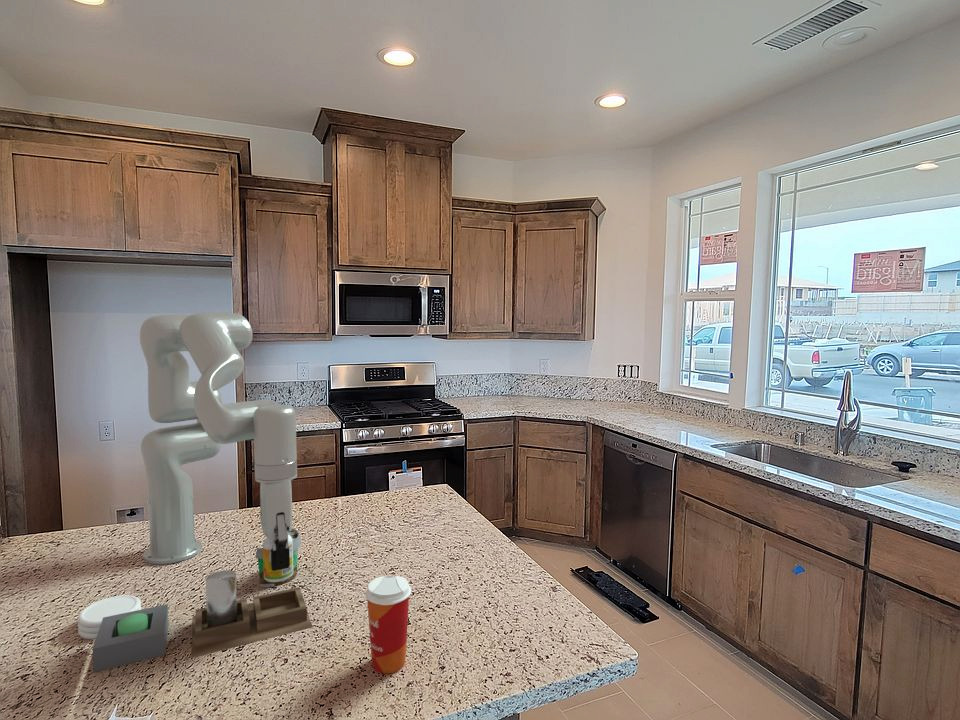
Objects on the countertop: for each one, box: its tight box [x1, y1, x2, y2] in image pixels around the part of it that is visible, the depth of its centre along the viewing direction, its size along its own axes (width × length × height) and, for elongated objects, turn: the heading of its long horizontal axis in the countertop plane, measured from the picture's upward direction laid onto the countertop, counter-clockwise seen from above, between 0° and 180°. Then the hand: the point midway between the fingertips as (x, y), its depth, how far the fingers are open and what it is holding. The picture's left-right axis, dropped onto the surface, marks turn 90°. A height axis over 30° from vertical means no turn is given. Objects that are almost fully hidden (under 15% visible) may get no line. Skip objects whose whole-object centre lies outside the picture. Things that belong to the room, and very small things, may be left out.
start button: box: [117, 613, 148, 636], centre depth 92 cm, size 4×4×4 cm
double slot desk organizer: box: [190, 586, 313, 659], centre depth 100 cm, size 14×20×4 cm
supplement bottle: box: [262, 529, 293, 582], centre depth 101 cm, size 5×5×10 cm
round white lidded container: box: [76, 594, 142, 640], centre depth 101 cm, size 10×10×4 cm
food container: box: [255, 527, 302, 588], centre depth 117 cm, size 12×6×10 cm, turn 168°
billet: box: [205, 569, 238, 629], centre depth 98 cm, size 5×5×10 cm
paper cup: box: [364, 575, 412, 675], centre depth 90 cm, size 8×8×14 cm
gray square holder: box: [92, 603, 170, 673], centre depth 92 cm, size 10×10×5 cm
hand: (278, 561), depth 102 cm, fingers closed on supplement bottle, 5 cm apart
